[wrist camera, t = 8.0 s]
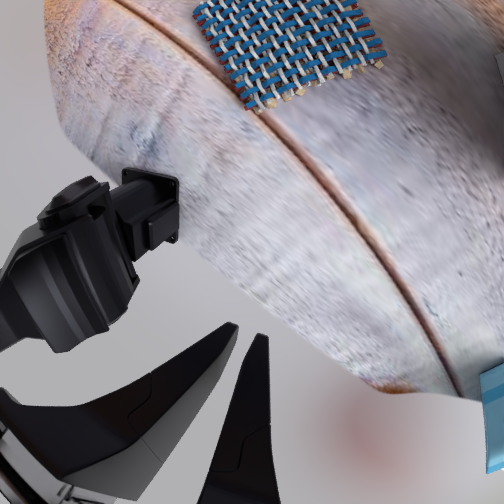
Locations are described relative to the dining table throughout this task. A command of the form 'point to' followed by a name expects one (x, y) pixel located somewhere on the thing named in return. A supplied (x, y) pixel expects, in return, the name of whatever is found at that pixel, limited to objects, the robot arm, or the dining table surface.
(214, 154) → the dining table surface
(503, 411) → the blue carton
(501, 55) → the box
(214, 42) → the woven mat
